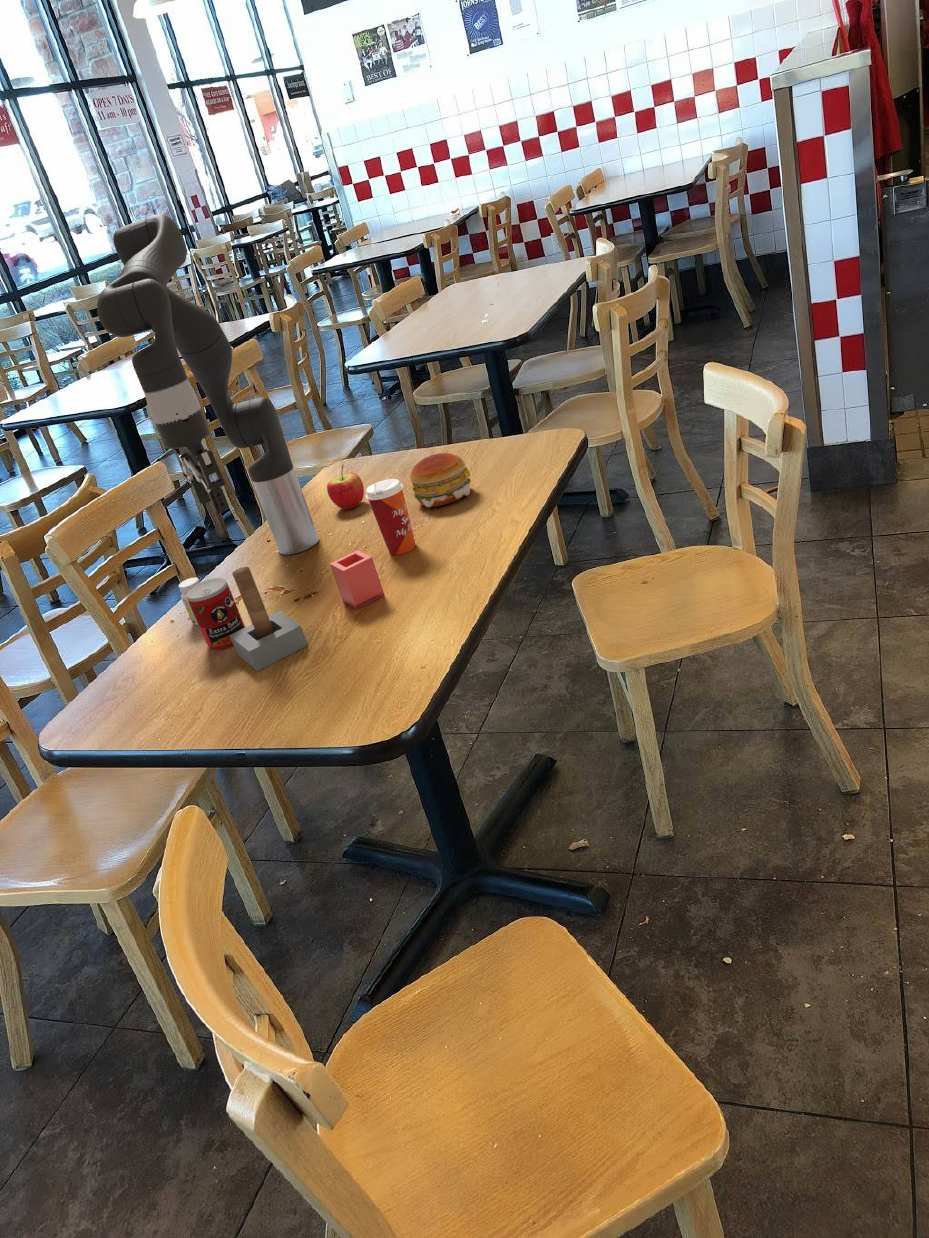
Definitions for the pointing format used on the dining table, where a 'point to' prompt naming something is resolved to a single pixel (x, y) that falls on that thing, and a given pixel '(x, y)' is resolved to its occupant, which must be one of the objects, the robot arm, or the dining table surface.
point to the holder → (269, 642)
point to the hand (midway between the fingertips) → (214, 506)
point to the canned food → (215, 612)
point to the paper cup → (392, 515)
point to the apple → (346, 490)
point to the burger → (440, 479)
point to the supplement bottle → (184, 588)
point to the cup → (357, 579)
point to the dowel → (253, 602)
